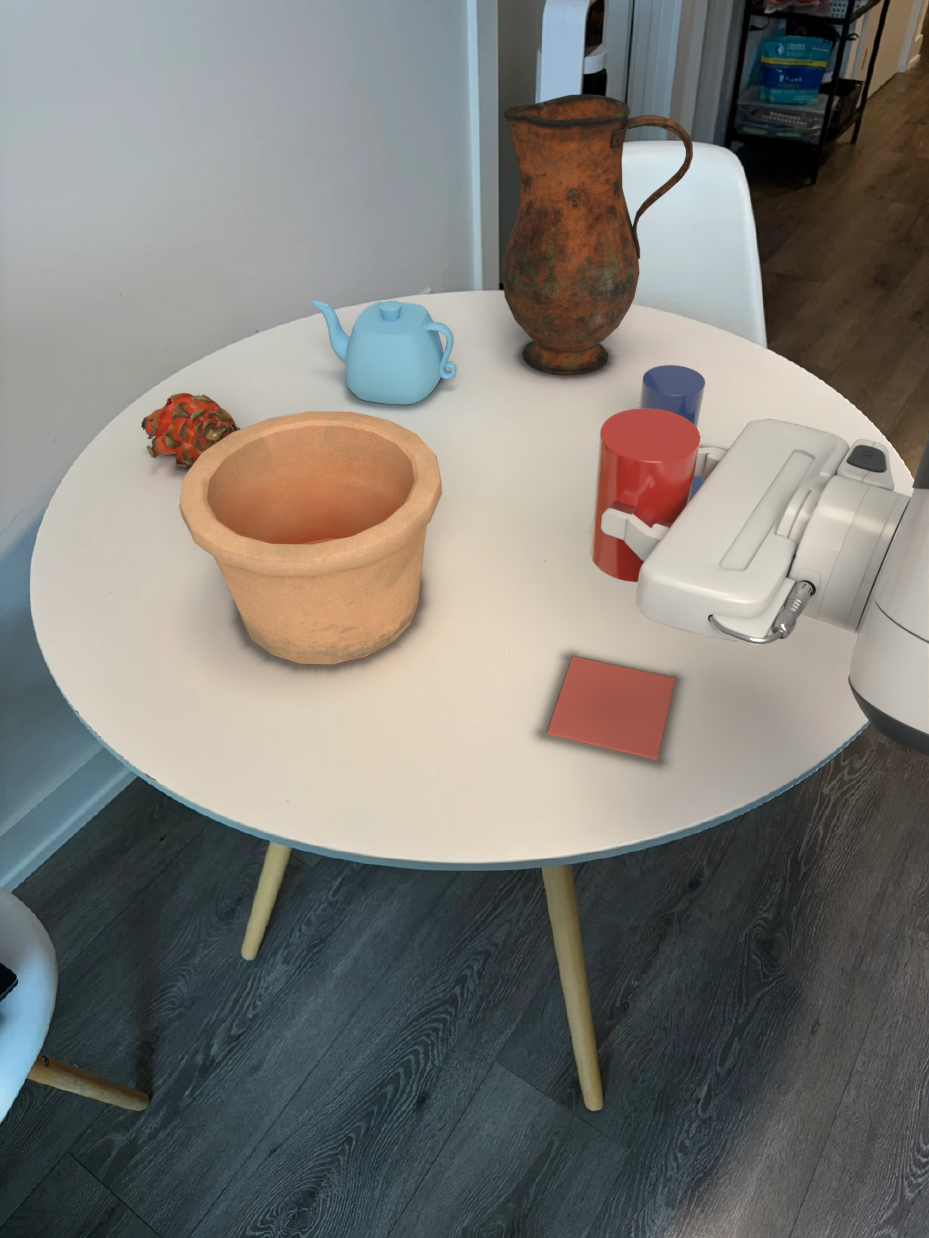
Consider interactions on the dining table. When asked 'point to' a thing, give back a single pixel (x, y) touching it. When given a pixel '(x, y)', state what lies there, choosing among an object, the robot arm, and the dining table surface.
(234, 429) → the dragon fruit
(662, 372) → the blue canister
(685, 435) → the red canister
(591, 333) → the pitcher
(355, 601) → the pottery
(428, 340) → the teapot
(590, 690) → the red mat
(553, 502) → the dining table surface
